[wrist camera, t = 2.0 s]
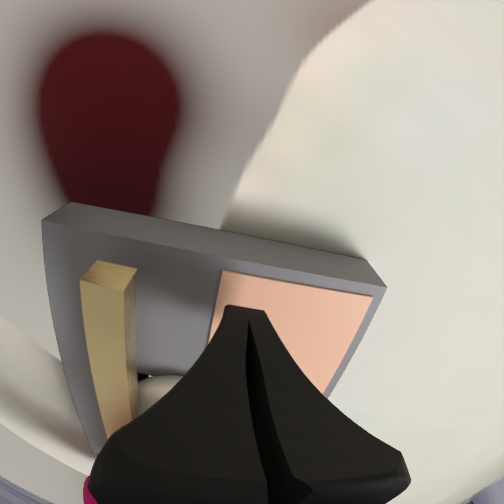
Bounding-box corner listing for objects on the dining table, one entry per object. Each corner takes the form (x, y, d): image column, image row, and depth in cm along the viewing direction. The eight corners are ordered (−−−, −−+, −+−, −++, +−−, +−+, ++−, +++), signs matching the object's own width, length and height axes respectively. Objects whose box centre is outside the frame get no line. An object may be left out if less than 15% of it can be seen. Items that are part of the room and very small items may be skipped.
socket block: (265, 458, 21) (267, 491, 18) (100, 429, 20) (90, 460, 17) (366, 260, 14) (394, 298, 11) (70, 201, 12) (30, 227, 9)
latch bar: (152, 475, 16) (149, 491, 15) (120, 467, 16) (117, 482, 15) (150, 271, 10) (138, 294, 8) (86, 257, 9) (67, 276, 8)
